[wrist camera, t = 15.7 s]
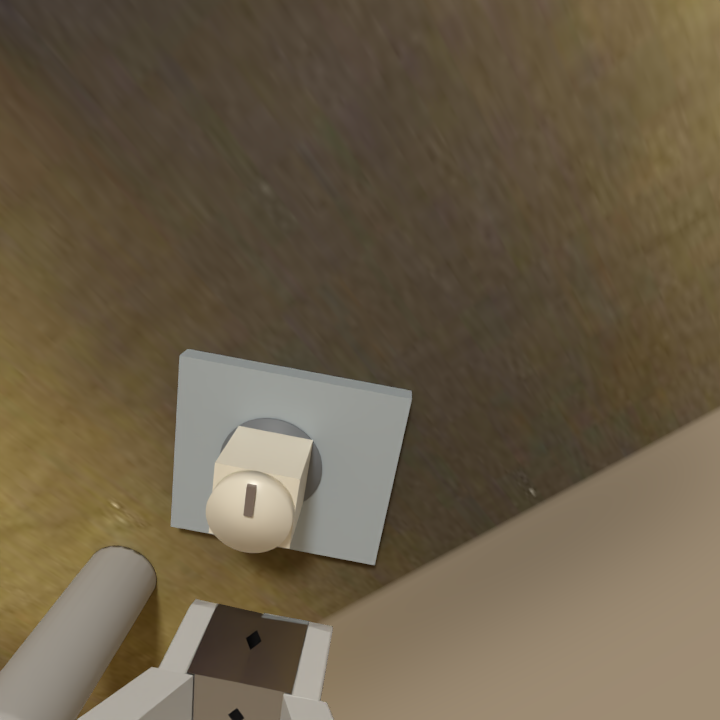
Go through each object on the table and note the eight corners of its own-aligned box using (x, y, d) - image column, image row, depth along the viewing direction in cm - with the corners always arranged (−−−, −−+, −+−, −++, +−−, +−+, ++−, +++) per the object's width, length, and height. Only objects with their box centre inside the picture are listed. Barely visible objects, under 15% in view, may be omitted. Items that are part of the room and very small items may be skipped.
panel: (411, 390, 41) (413, 429, 35) (375, 552, 47) (371, 610, 40) (187, 348, 41) (149, 380, 35) (178, 515, 47) (144, 566, 41)
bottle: (90, 595, 51) (-242, 1045, 25) (87, 540, 49) (-282, 971, 22) (156, 606, 51) (-107, 1071, 25) (156, 551, 49) (-134, 1000, 22)
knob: (302, 503, 43) (284, 563, 37) (232, 489, 43) (201, 546, 37) (313, 440, 41) (296, 491, 35) (238, 425, 41) (207, 474, 35)
